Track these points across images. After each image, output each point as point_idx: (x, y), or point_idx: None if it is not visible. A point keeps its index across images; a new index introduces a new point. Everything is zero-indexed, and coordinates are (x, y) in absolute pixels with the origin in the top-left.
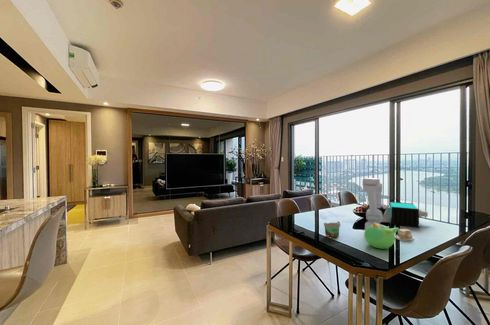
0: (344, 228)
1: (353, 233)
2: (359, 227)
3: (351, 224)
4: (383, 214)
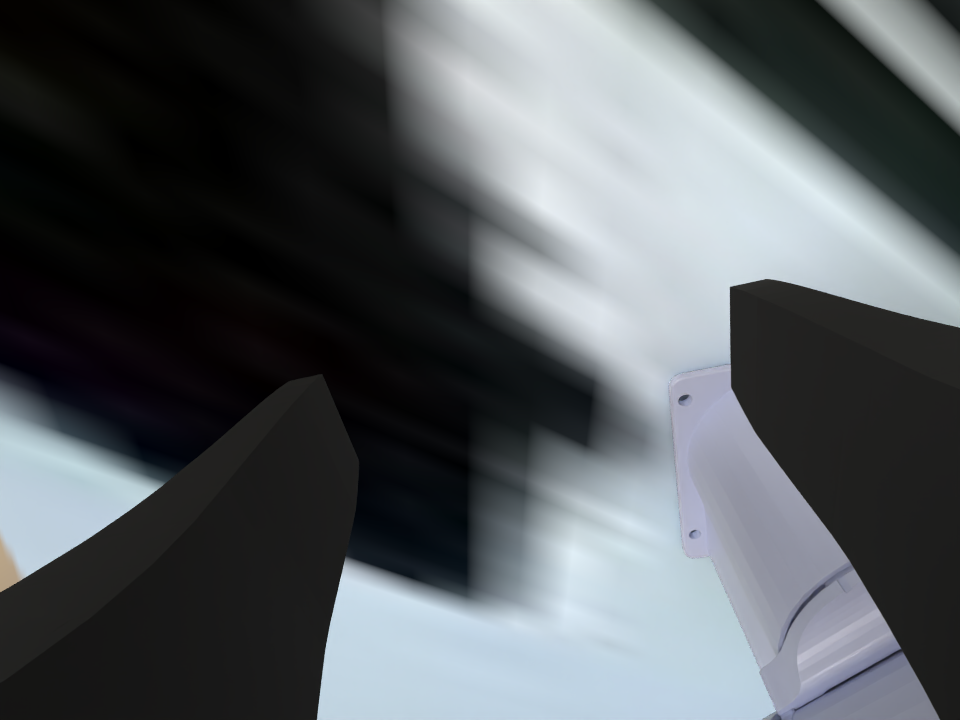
0: (475, 687)
1: (697, 671)
2: (420, 502)
3: None
4: (855, 314)
